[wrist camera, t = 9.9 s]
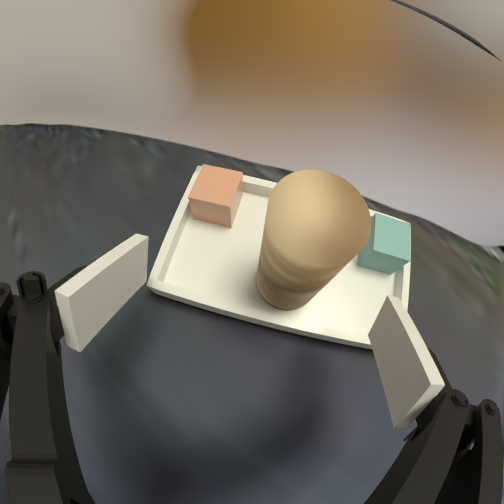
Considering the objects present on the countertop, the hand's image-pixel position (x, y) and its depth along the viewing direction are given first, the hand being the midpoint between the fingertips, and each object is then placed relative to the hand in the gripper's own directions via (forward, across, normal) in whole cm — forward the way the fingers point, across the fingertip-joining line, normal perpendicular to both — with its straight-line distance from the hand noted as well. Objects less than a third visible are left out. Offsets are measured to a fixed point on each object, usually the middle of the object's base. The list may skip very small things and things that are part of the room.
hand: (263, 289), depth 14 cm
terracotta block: (+12, -5, 0) cm, 13 cm away
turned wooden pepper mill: (+8, +2, -3) cm, 9 cm away
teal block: (+11, +10, 0) cm, 15 cm away
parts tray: (+10, +2, -2) cm, 11 cm away
